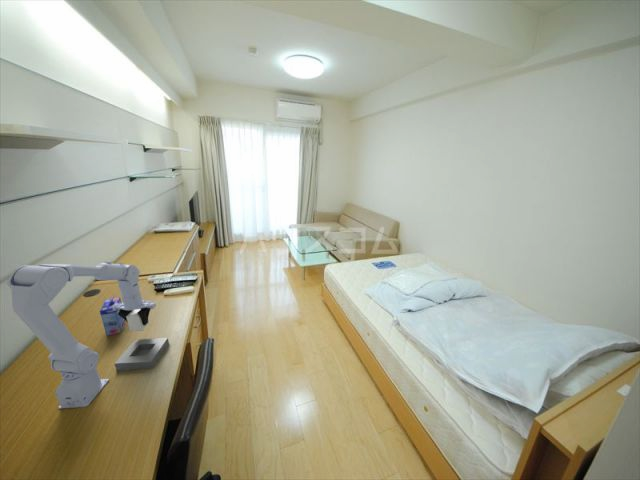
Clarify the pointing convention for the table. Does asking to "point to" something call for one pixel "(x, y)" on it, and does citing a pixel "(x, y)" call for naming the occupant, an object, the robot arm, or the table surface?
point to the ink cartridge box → (111, 317)
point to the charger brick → (135, 321)
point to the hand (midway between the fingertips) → (139, 324)
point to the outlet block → (142, 354)
